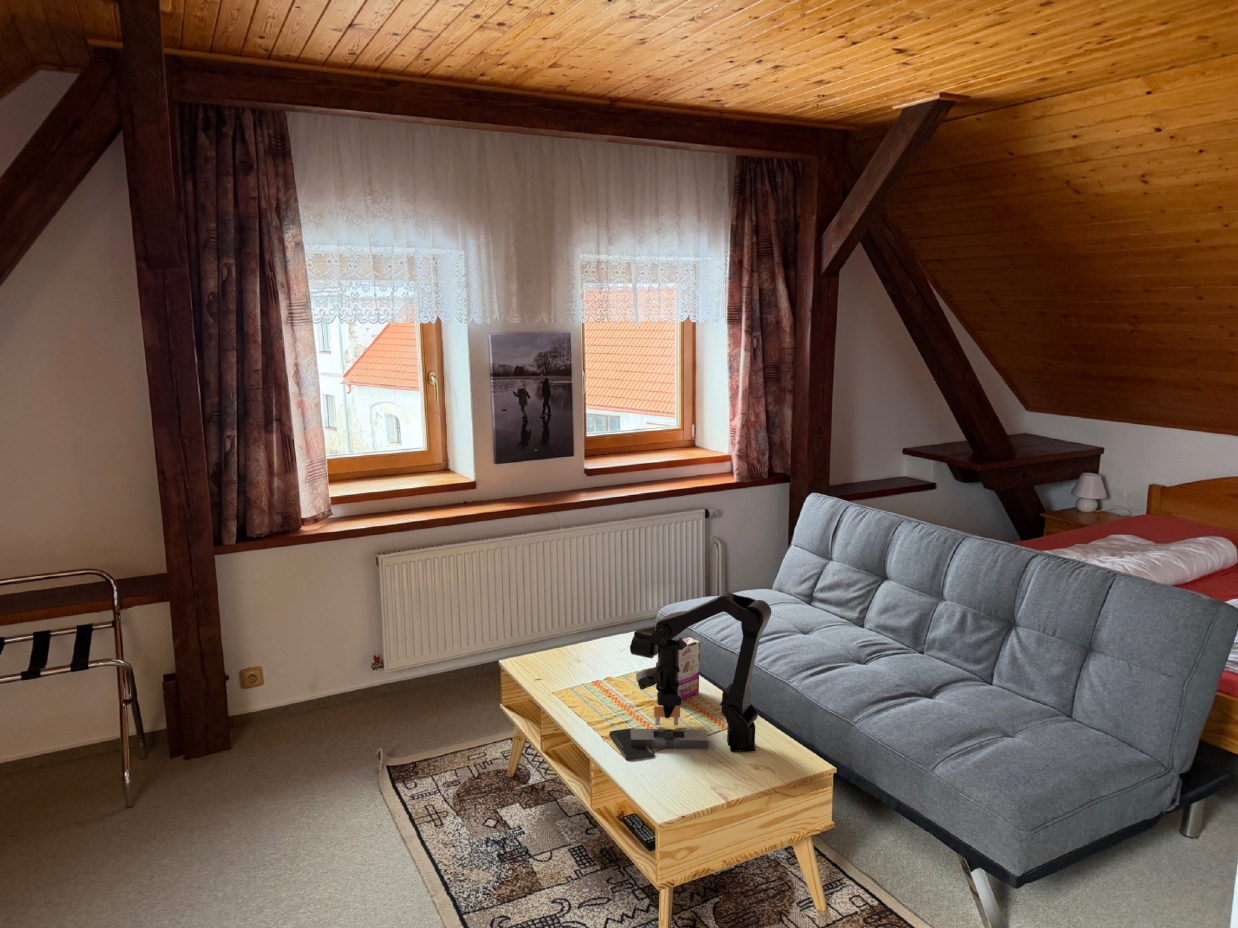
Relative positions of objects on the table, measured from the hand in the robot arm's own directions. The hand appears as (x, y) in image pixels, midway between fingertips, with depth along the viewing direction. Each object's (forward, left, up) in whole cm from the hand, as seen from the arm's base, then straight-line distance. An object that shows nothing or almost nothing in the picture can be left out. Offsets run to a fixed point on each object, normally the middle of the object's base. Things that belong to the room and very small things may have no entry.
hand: (666, 715), depth 243 cm
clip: (0, 0, -2) cm, 2 cm away
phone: (+10, +10, -4) cm, 15 cm away
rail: (0, +9, -3) cm, 10 cm away
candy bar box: (-5, -20, -4) cm, 21 cm away
